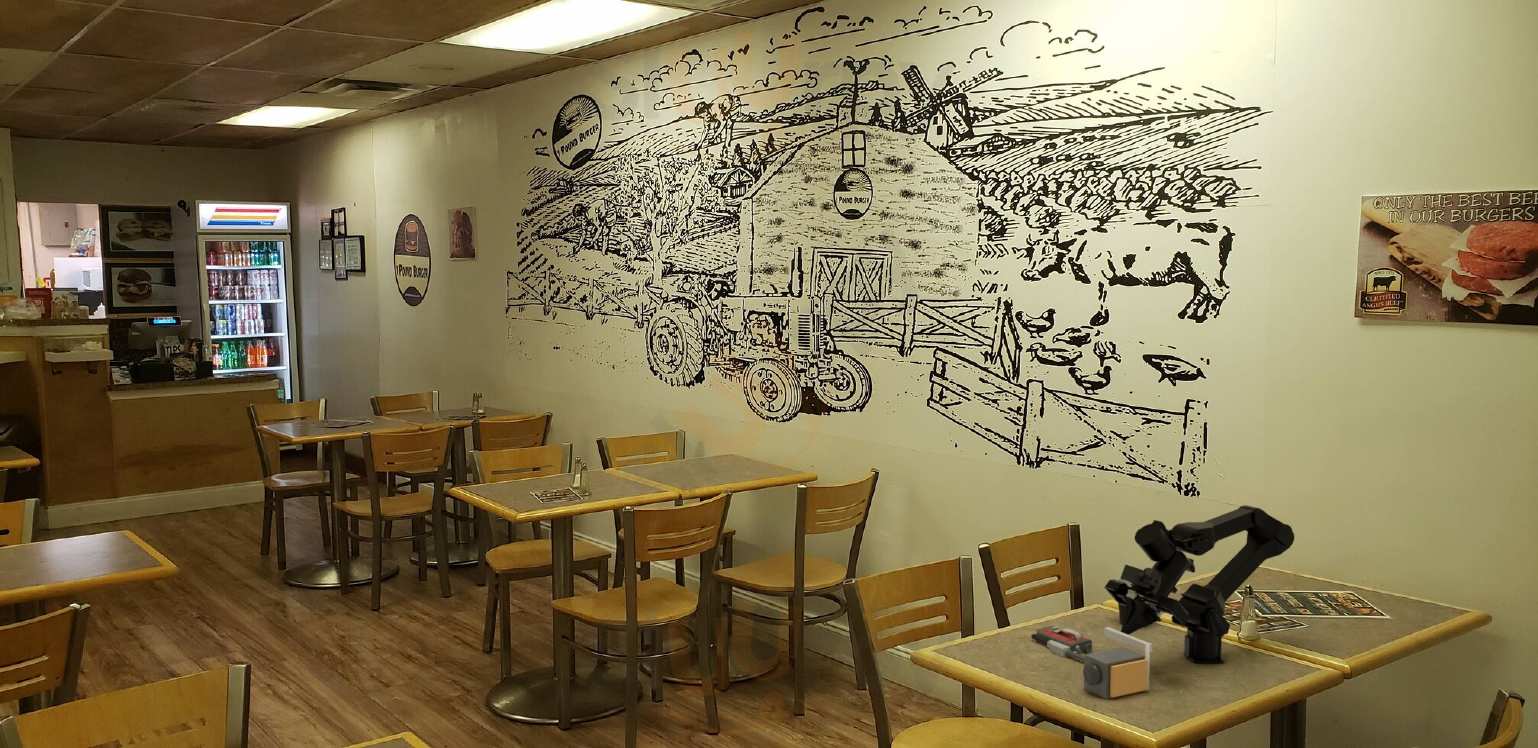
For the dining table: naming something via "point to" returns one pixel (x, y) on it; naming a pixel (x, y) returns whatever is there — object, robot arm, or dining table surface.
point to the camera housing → (1105, 668)
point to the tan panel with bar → (1129, 666)
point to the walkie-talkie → (1063, 641)
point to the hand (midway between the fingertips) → (1123, 634)
